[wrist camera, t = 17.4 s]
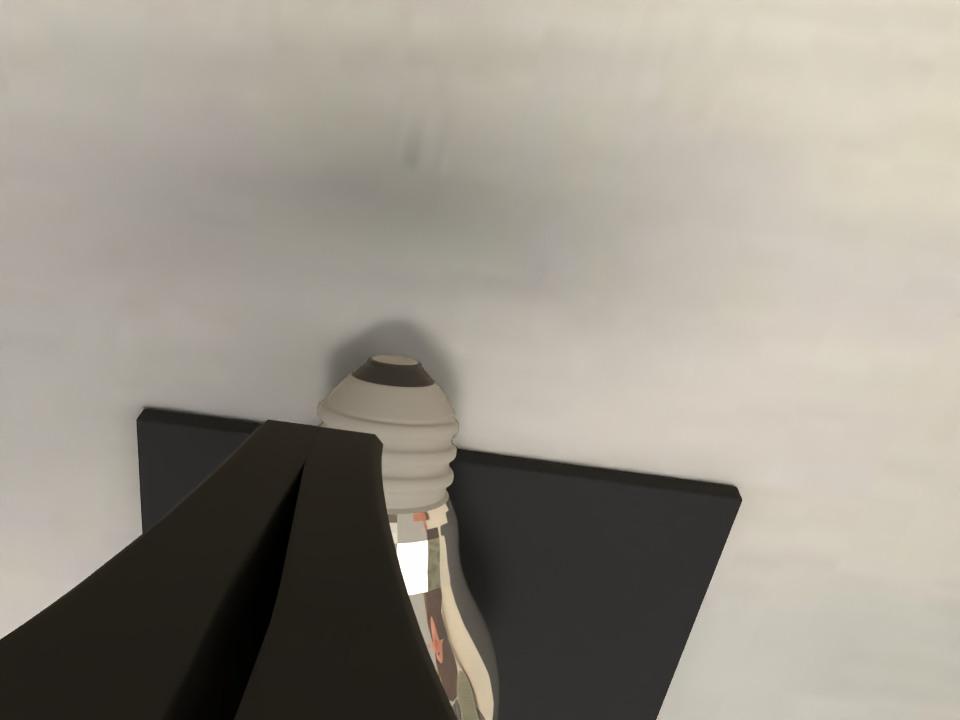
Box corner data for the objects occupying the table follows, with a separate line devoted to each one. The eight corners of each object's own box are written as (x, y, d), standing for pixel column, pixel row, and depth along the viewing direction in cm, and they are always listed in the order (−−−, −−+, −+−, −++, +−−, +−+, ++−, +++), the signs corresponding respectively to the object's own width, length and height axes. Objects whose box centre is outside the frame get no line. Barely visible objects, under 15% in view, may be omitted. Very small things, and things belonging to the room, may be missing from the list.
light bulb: (585, 369, 21) (524, 796, 22) (356, 326, 23) (318, 707, 25) (459, 410, 14) (388, 996, 16) (168, 343, 17) (137, 848, 19)
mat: (157, 684, 26) (150, 700, 26) (144, 406, 21) (135, 419, 21) (640, 738, 27) (643, 754, 27) (737, 486, 22) (743, 499, 22)
